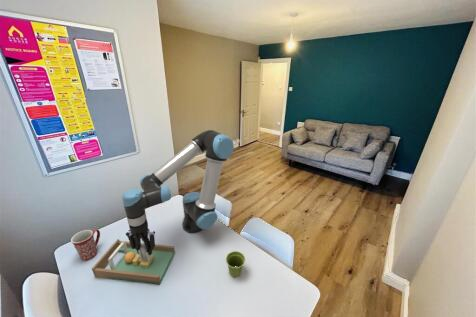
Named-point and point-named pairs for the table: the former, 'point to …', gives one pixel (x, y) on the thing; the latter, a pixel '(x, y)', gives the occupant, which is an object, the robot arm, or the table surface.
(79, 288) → the table surface
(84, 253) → the mug
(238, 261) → the plant pot
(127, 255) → the ball
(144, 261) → the kicker
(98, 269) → the pitch
